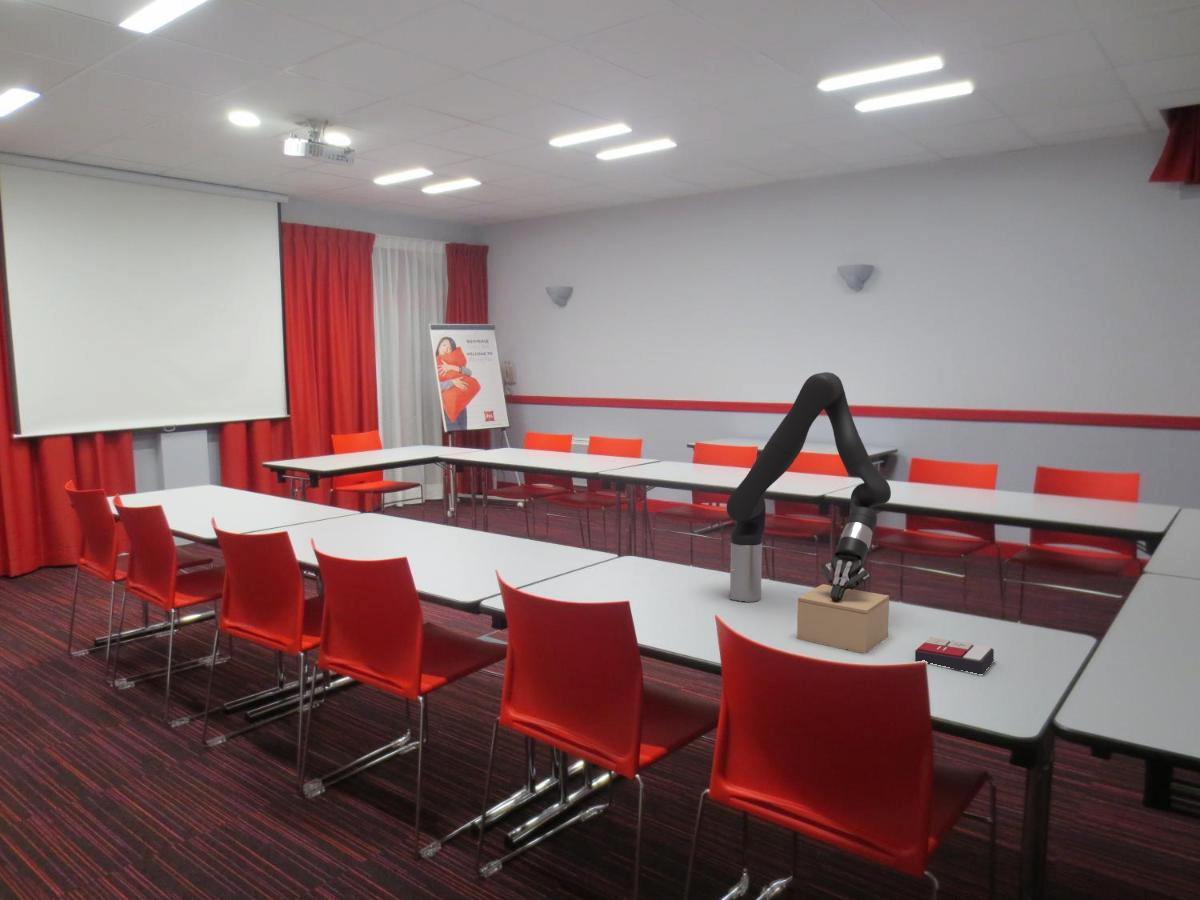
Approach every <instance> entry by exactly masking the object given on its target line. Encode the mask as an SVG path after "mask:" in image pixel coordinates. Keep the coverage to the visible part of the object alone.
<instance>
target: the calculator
mask: <svg viewBox="0 0 1200 900" xmlns="http://www.w3.org/2000/svg"><path fill="white" fill-rule="evenodd" d="M914 652H915V653H914V654H915V655H914V658H915V660H914V661H915V662H916V661H922V660H925V661H927V662H928V664H927V665H929V664H930V663H933V664H937V665H941V666H946V667H950V668H954V669H958V670H957V671H959V670H963V671H968V672H973V673H977V674H983V673H984V672H985V671H986V669H987V668H988V667H989V666H990V665H991V663H992V662H993V661H994V662H995V658H994V655H995V651H994V648H992V647H991V646H985V645H978V644H974V645H973V643H970V642H964V641H959V640H952V641H951V640H950V639H945V638H939V637H934V636H933V637H929V638H928V639H927V640H925V642H924V643H922V644H921V645H920V646H918V647H917V648H916V649H915V650H914ZM991 666H992V665H991ZM991 666H990V667H991ZM990 667H989V668H990ZM954 669H953V670H954ZM986 672H987V671H986ZM986 672H985V673H986ZM985 673H984V674H985ZM984 674H983V675H984Z"/></svg>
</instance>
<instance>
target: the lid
mask: <svg viewBox="0 0 1200 900" xmlns="http://www.w3.org/2000/svg"><path fill="white" fill-rule="evenodd" d="M832 587H833V586H830V584H824V583H822V584H820V585H818V586H816V587H815V588H813V589H811V590H809V591H807V592H806V593H804V594H802V595H800V596H798V597H797V602H798V601H802V602H807V603H813V604H818V605H823V606H828V607H833V608H838V609H844V610H849V611H854V612H859V613H864V614H867V613H869V612H870V611H872V610H873V609H875V608H876V607H877V606H879V605H880V604H882V603H883V602H885V601H886V600H888V599H889V600H890V595H888V594H881V593H876V592H869V591H865V590H859V589H855V588H854V589H853V590H851V589H846V590H845V592H844V595H843V598H842V600H840V601H839V602H835V601H832V599H831V597H830V593H831V590H832Z"/></svg>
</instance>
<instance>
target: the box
mask: <svg viewBox="0 0 1200 900" xmlns="http://www.w3.org/2000/svg"><path fill="white" fill-rule="evenodd" d="M889 611H890V598H889V599H888V600H886V601H885V602H883V603H882V604H880V605H879V606H877V607H876V608H875V609H873V610H872V611H870V612H869V613H867V614H864V613H859V612H854V611H849V610H844V609H838V608H833V607H828V606H823V605H818V604H813V603H807V602H802V601H798V600H797V616H796V617H797V618H796V619H797V621H796V622H797V630H796V634H797V635H796V639H797V640H800V641H801V640H802V641H805V642H811V643H814V642H816V644H819V643H820V644H821V645H823V644H824V646H828V645H830V646H829V647H832V646H834V647H833V648H837V647H839V648H838V649H841V648H843V649H842V650H846V649H848V651H850V650H852V651H851V652H855V651H858V652H857V653H859V652H862V653H861V654H863V653H866V652H867V653H869V652H870V651H871V650H872V649H873V647H874V648H875V647H876V646H877V645H878V644H880V643H881V642H883V640H885V639H886V638H887V637H889V614H890V612H889ZM825 644H826V645H825ZM869 650H870V651H869ZM867 653H866V654H867Z"/></svg>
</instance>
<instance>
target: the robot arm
mask: <svg viewBox="0 0 1200 900" xmlns="http://www.w3.org/2000/svg"><path fill="white" fill-rule="evenodd" d="M846 396H847V395H846V392H845V389H844V385H843V382H842V380H841V378H840V377H839V376H838V375H837V374H835V373H833V372H828V371H827V372H826V371H825V372H817V373H814V374H812V375H810V376H809V377H808V378H807V379H806V380H805V381H804V383H803V384H802V386H801V388H800V390H799V393H798V395H797V397H795V398H796V399H795V401H794V403H793V405H792V407H791V408H790V409H789V411H788V413H787V414H786V415H785V417H784V418H783V419H782V421H781V422H780V424H779V425H778V426H777V428H776V429H775V431H774V432H773V433H772V435H771V436H770V438H769V440H768V441H767V443H766V444H765V445H764V447H763V449H762V450H761V452H760V454H759V455H758V457H757V458H756V459H755V462H754V463H753V464H752V467H751V468H750V470H749V472H748V473H747V474H746V476H745V478H744V479H742V481H741V482H740V484H739V485H737V487H736V488H735V489H734V491H733V492H732V493H731V494H730V495H729V497H728V499H727V502H726V512H727V516H728V517H729V518H730V519H731V520H733V521H734V522H736V525H735V526H734V529H733V530H732V532H731V534H730V566H729V568H730V569H729V570H730V573H729V574H730V575H729V576H730V583H729V587H730V590H729V591H730V592H729V593H730V594H729V596H730V599H732V601H737V600H738V602H742V601H745V602H744V603H749V602H751V603H752V602H757V601H760V600H761V599H762V562H763V561H762V557H763V553H762V550H763V549H762V548H763V547H762V546H763V536H764V533H765V530H766V529H765V528H766V527H765V526H766V513H767V511H766V509H767V508H766V507H767V506H766V501H765V498H764V494H765V493H766V492H767V490H768V489H769V488H770V487H771V486H772V485H773V484H774V483H776V482H777V481H778V479H780V478H781V477H782V476H783V475H784V474H785V473H786V472H787V470H788V469H790V467H791V466H792V465H793V463H795V461H796V459H797V457H798V456H799V455H800V453H801V452H802V450H803V448H804V445H805V444H806V440H807V437H808V433H809V431H810V429H811V427H812V425H813V423H814V422H815V420H816V419H817V418H818V416H819V415H820V414H821V413H822V411H823V410H824V412H825V413H826V415H827V417H828V419H829V422H830V425H831V427H832V433H833V437H834V442H835V443H834V444H835V446H836V451H837V452H838V453H837V454H838V455H839V458H840V460H841V462H842V464H843V467H844V469H845V471H846V473H847V474H848V476H850V477H854V478H855V477H858V478H859V479H861V481H862V483H859V484H857V485H856V486H855V487H854V489H853V490H852V492H851V494H850V507H849V510H850V511H849V515H848V519H847V522H846V524H845V527H844V529H843V530H842V533H841V536H840V539H839V540H838V544H837V547H836V550H835V552H834V556H833V558H831V560H830V562H829V563H820V567H821V570H822V571H823V574H824V576H825V578H826V580H827V582H828V585H830V586H833V587H832V590H831V593H830V597H831V599H832V601H835V602H839V601H840V600H842V598H843V595H844V592H845V590H846V589H851V590H853V589H854V590H855V589H856V588H857V587H858V586H860V585H862V584H863V583H864V582H866V581H867V580H869V579H870V577H871V576H870V574H869V572H868V570H866V569H865V566H864V563H865V561H866V558H867V554H868V553H869V552H868V551H869V549H870V546H871V543H872V537H873V533H874V531H875V527H876V524H877V520H878V516H877V514H876V512H875V511H874V510H873V509H872V508H874V507H877V506H882V505H884V504H886V503H888V502H889V501H890V499H891V497H892V496H891V495H892V491H891V487H890V484H889V483H888V481H887V480H886V478H885V476H883V474H882V473H881V472H880V470H879V469H878V468H877V467H876V466H875V464H874V463H873V462H872V460H871V458H870V456H869V453H868V451H867V449H866V447H865V445H864V443H863V440H862V439H861V436H860V434H859V432H858V429H857V427H856V424H855V422H854V419H853V416H852V412H851V410H850V407H849V404H848V399H847V397H846ZM832 570H833V571H834V578H833V577H832V574H830V573H831V572H832Z"/></svg>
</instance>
